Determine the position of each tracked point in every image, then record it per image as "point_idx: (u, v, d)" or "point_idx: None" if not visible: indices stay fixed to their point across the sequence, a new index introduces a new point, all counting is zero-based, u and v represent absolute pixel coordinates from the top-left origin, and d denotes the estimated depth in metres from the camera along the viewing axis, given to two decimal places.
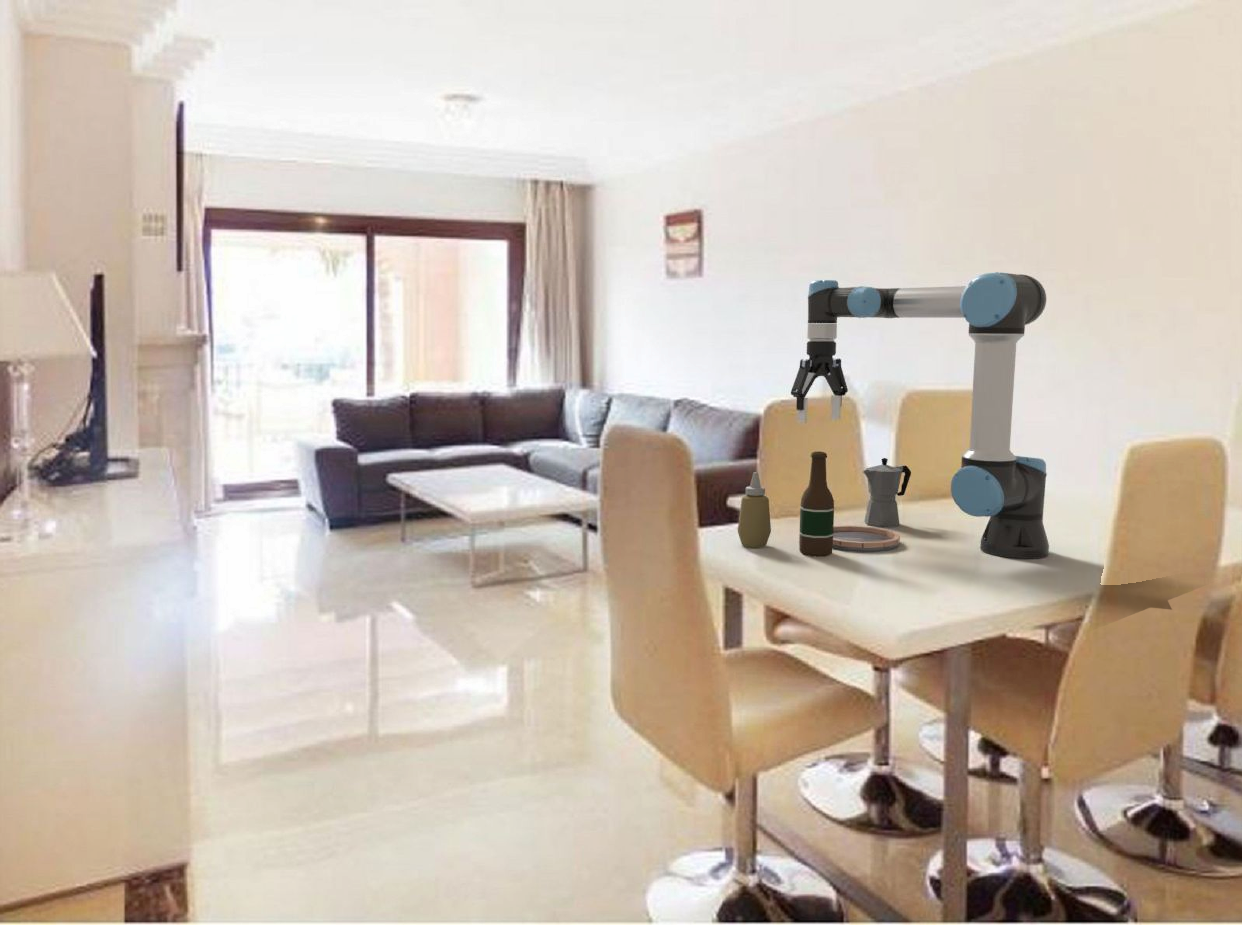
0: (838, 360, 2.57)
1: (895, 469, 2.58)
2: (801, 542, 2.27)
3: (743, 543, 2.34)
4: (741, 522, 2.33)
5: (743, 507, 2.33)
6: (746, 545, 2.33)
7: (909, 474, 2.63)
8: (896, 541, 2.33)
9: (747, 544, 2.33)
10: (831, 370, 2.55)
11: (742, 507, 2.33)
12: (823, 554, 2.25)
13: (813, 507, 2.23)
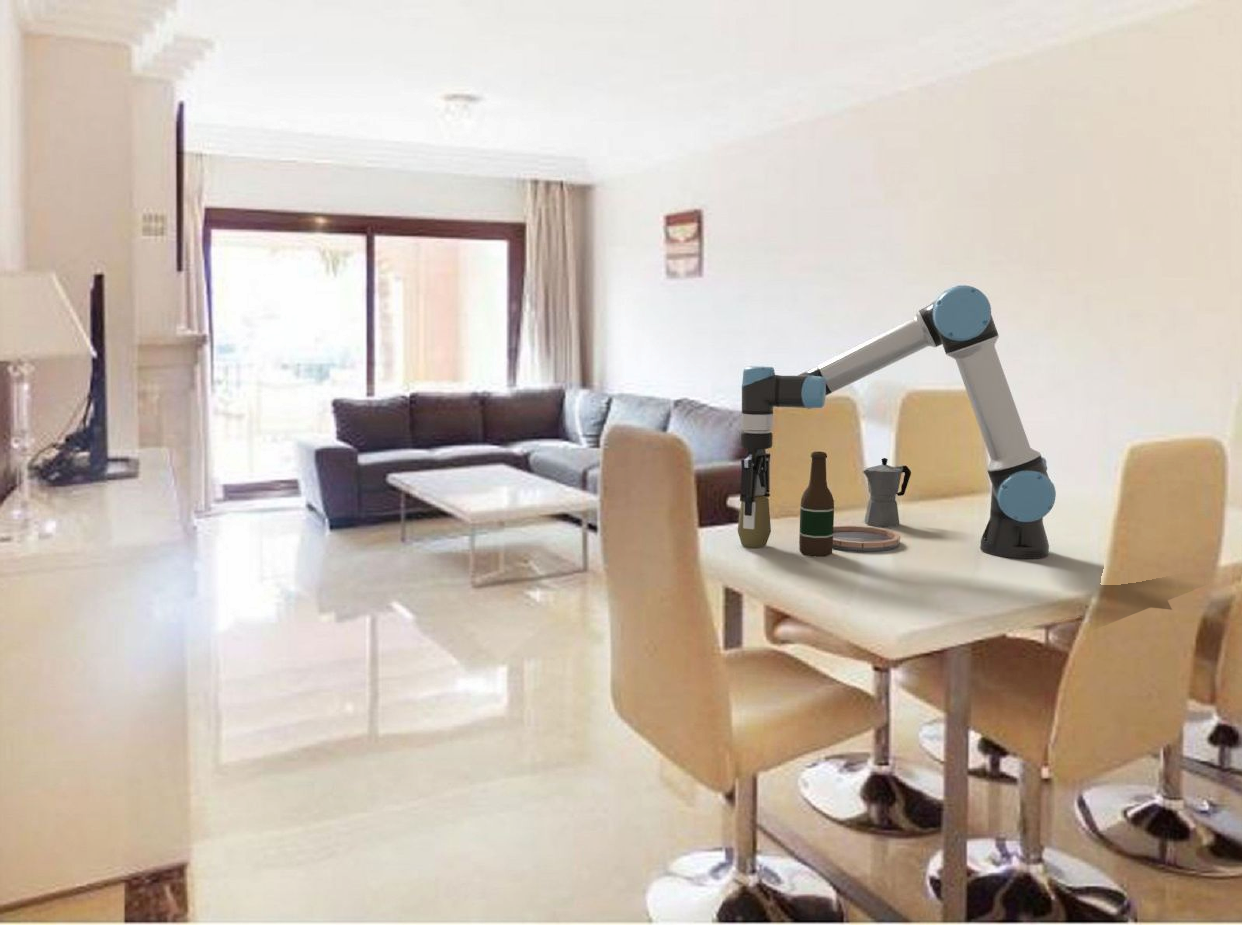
0: (768, 455, 2.37)
1: (895, 469, 2.58)
2: (801, 542, 2.27)
3: (743, 543, 2.34)
4: (740, 522, 2.33)
5: (743, 507, 2.33)
6: (746, 545, 2.33)
7: (909, 474, 2.63)
8: (896, 541, 2.33)
9: (747, 544, 2.33)
10: (765, 464, 2.34)
11: (742, 507, 2.33)
12: (823, 554, 2.25)
13: (813, 507, 2.23)
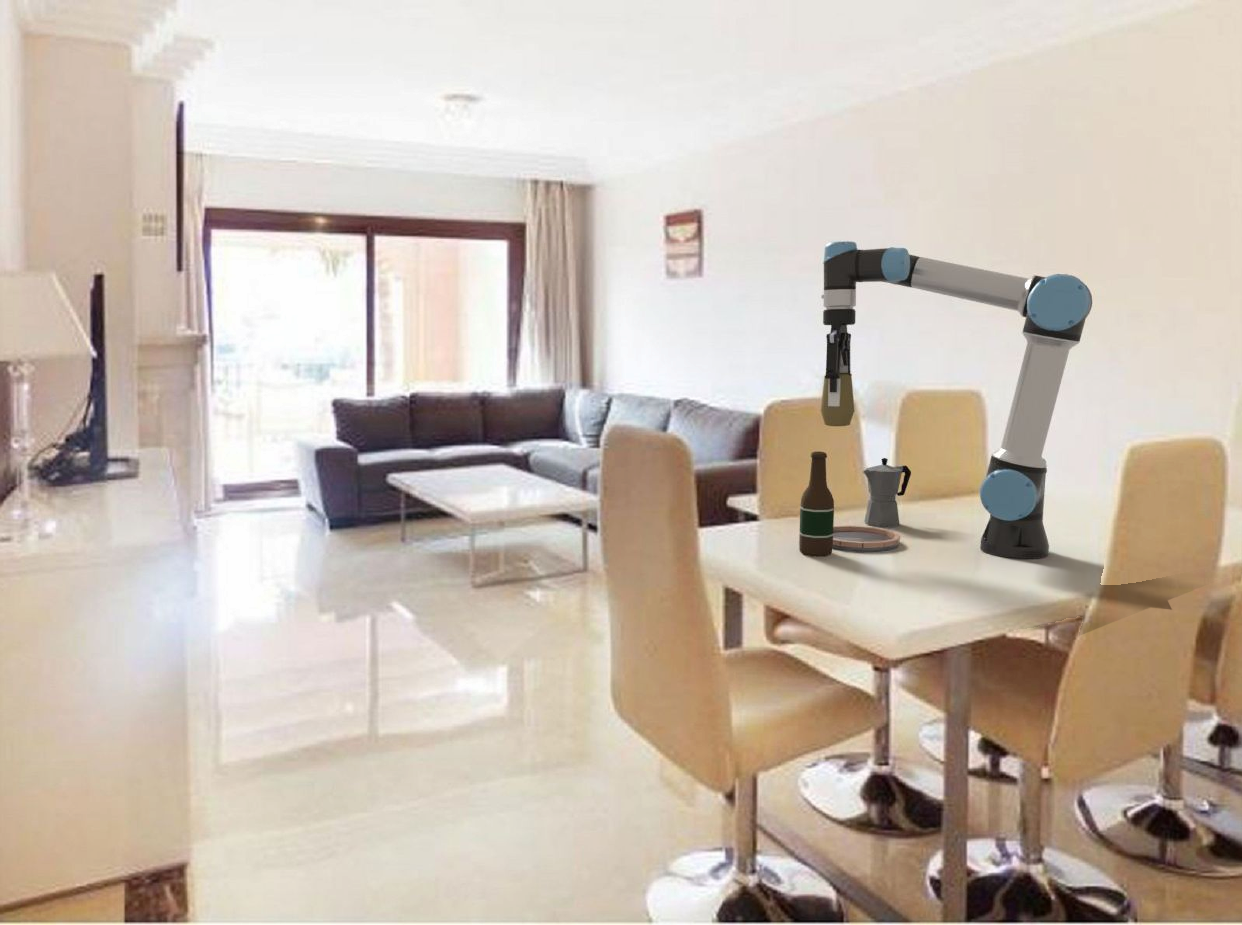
0: (849, 335, 2.36)
1: (895, 469, 2.58)
2: (801, 542, 2.27)
3: (827, 422, 2.33)
4: (824, 400, 2.32)
5: (827, 385, 2.31)
6: (830, 424, 2.32)
7: (909, 474, 2.63)
8: (896, 541, 2.33)
9: (831, 422, 2.32)
10: (847, 342, 2.33)
11: (825, 385, 2.32)
12: (823, 554, 2.25)
13: (813, 507, 2.23)
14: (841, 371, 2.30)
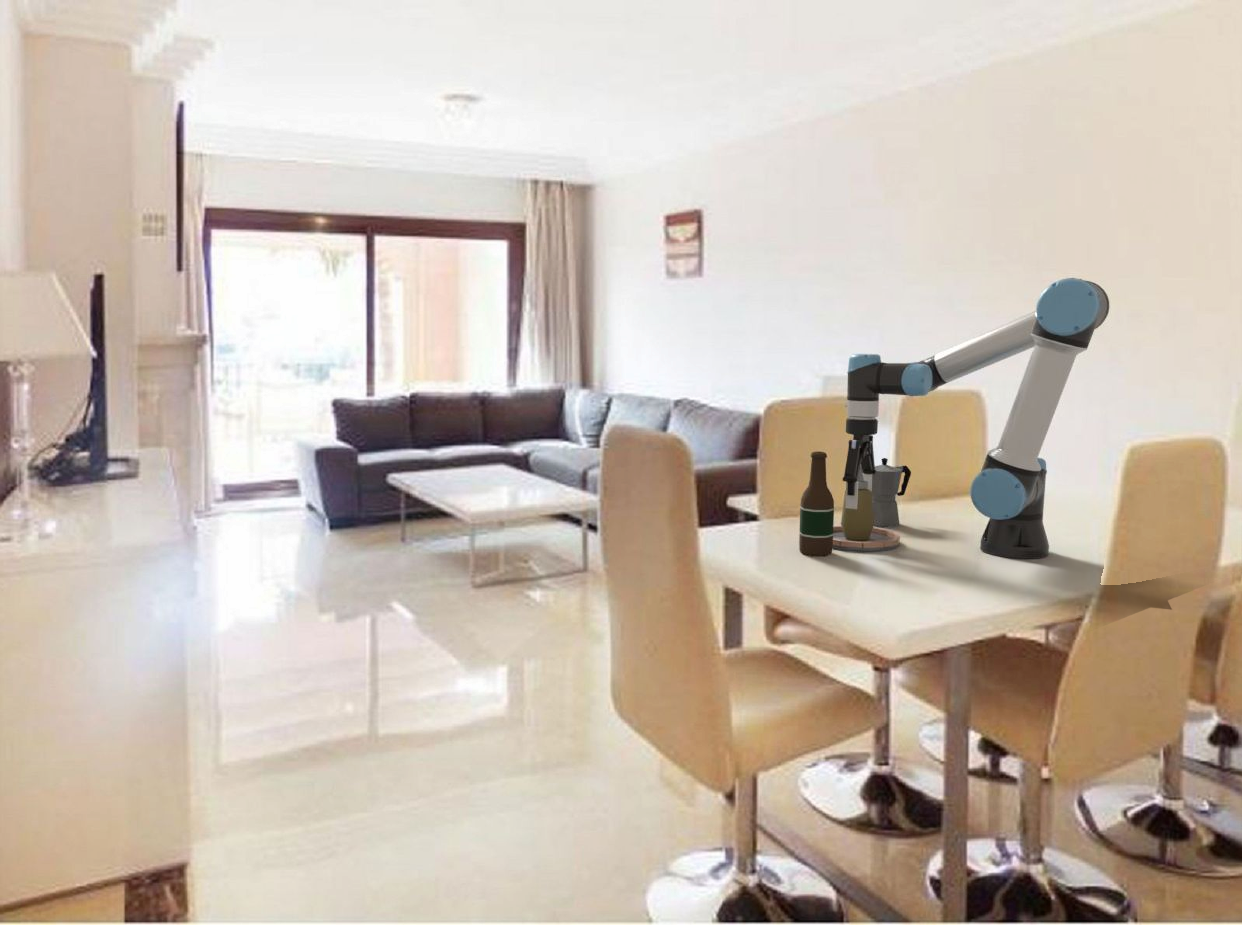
0: (871, 437, 2.41)
1: (895, 469, 2.58)
2: (801, 542, 2.27)
3: (847, 536, 2.38)
4: (845, 515, 2.37)
5: None
6: (850, 538, 2.37)
7: (909, 474, 2.63)
8: (896, 541, 2.33)
9: (851, 537, 2.37)
10: (870, 449, 2.38)
11: None
12: (823, 554, 2.25)
13: (813, 507, 2.24)
14: (861, 487, 2.36)
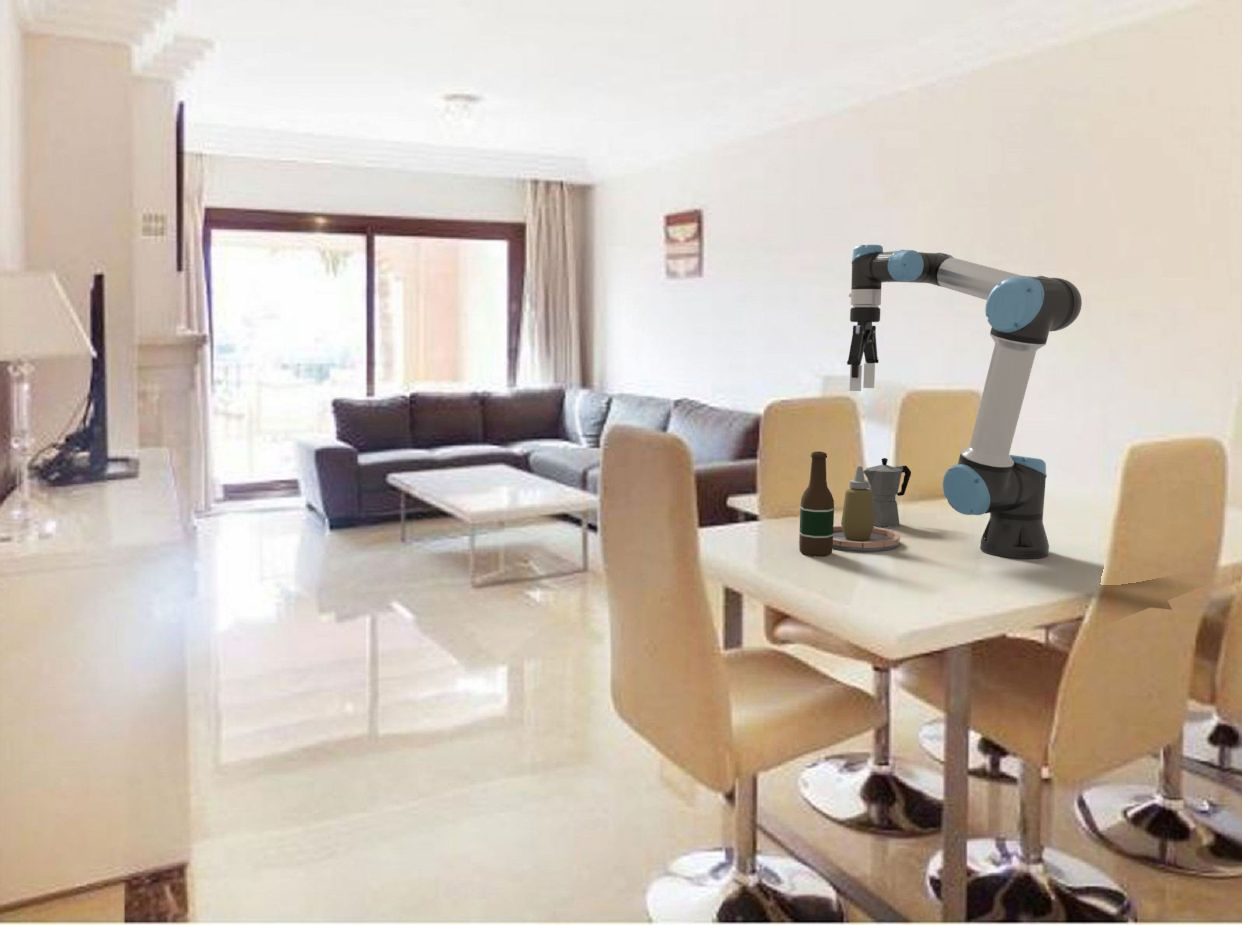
0: (874, 327, 2.54)
1: (895, 469, 2.58)
2: (801, 542, 2.27)
3: (847, 536, 2.38)
4: (845, 515, 2.37)
5: (848, 500, 2.37)
6: (850, 538, 2.37)
7: (909, 474, 2.63)
8: (896, 541, 2.33)
9: (851, 537, 2.37)
10: (873, 337, 2.51)
11: (846, 500, 2.37)
12: (823, 554, 2.25)
13: (813, 507, 2.23)
14: (862, 487, 2.36)
